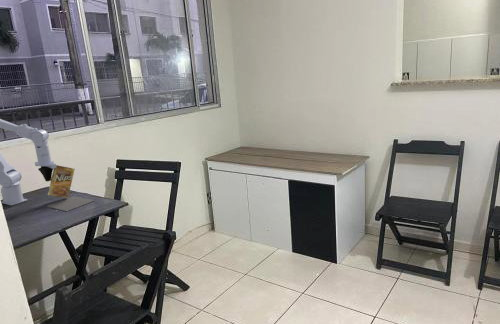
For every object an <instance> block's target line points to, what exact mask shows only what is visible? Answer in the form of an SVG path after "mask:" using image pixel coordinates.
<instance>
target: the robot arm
mask: <svg viewBox="0 0 500 324" xmlns="http://www.w3.org/2000/svg"><path fill="white" fill-rule="evenodd" d="M0 129H3V130H7V131H10V132H13V133H15V134H16V136H19V137H22V138H25V139H27V140H28V139H29V140H31V142H32V143H33V144H34V149H35V154H36V159H37V161H35V162H34V166H35V167H39V168H38V172H40V173H41V175H42V176H43V178H44V181H45V182H51V179H52V174H53V170H54V168H56V165H57V164H56V163H54V161H53V160H52V158H51V153H50V148H49V143H48V139H49V132H48V131H47V130H45V129H42V128H41V129H38V128H37V127H32V126H28V124H26V123H24V124H19V125H18V124H15V123H12V122H10V121H7V120H5V119H1V118H0ZM21 180H22V173H21V172H20V171H18V170H17V169H16V168H15V166H12V165H10V164H9V163H8V161H7V160H6V158H5V157H4V155H3V154H2V152H1V151H0V186H1V188H0V192H1V193H0V194H1V196H2V197H1V198H2V201H1V202H2V203H1V204H4V205H9V206H14V205H18V204H21V203H23V202H26V201H28V198H24V196H23V195H24V194H23V191H22V186H21Z"/></svg>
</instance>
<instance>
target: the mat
mask: <svg viewBox="0 0 500 324" xmlns="http://www.w3.org/2000/svg"><path fill="white" fill-rule="evenodd" d="M93 202H96V200H94V199H89V198H85V197H80V196H75V195H73V196H70V197H68V198H64V199H62V200H59V201H56V202H53V203H51V204H48V205H46V208H51V209H55V210H58V211H63V212H70V211H72V210H74V209H77V208H80V207H83V206H85V205H88V204H91V203H93Z"/></svg>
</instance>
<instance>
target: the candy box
mask: <svg viewBox="0 0 500 324" xmlns="http://www.w3.org/2000/svg"><path fill="white" fill-rule="evenodd" d="M74 174H75V168H73V167H68V166H62V165H59V164H58V165H57V164H56V168H54V169H53V171H52V177H51V181H50V183H49V188H48V192H47V196H51V197H57V198H63V199H68V198H69V195H70V191H71V186H72V183H73V178H74Z"/></svg>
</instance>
